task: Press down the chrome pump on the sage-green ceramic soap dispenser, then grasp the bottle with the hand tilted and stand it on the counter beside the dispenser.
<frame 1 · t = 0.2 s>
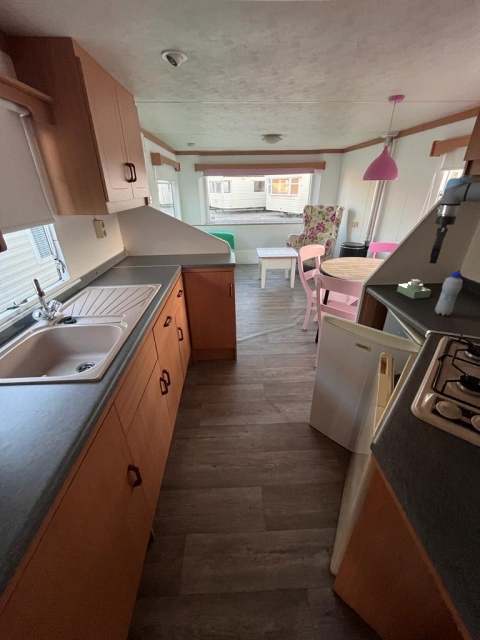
hand: (432, 260, 134), 20 cm above the counter, tool pointing down, fingers open, 13 cm apart
dispenser: (412, 294, 146), on the counter
pump: (415, 282, 143), point 7 cm above the counter, slide at 0.1 cm
bottle: (442, 314, 123), on the counter
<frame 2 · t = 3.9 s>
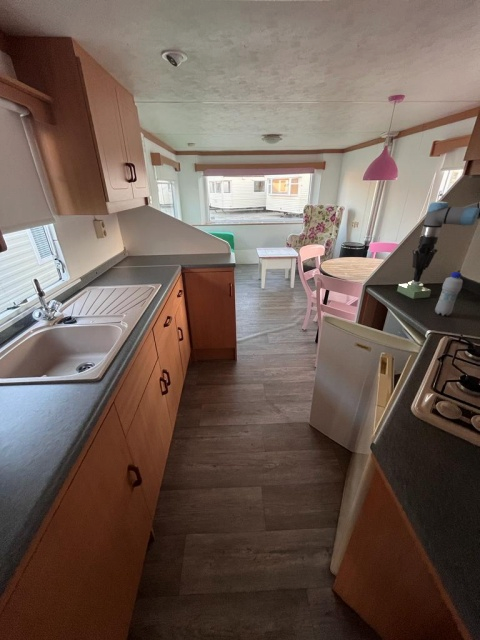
hand: (416, 280, 143), 8 cm above the counter, tool pointing down, fingers closed
pump: (415, 283, 143), point 6 cm above the counter, slide at -0.5 cm, touching gripper
everything else where it was.
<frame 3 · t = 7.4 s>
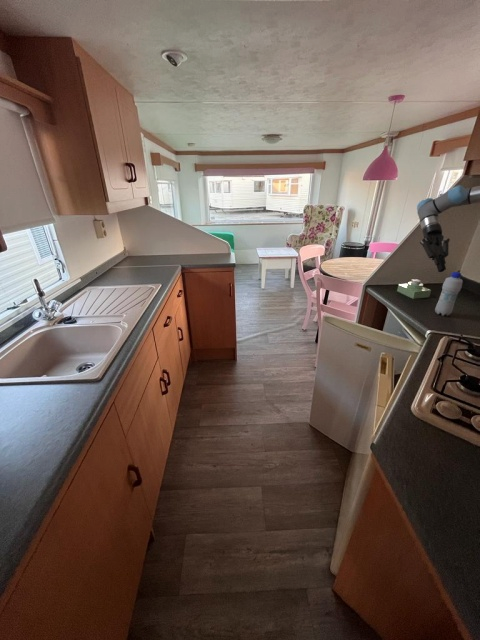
hand: (442, 270, 123), 18 cm above the counter, tool tilted 45°, fingers closed
pump: (415, 282, 143), point 7 cm above the counter, slide at 0.1 cm
everything else where it was.
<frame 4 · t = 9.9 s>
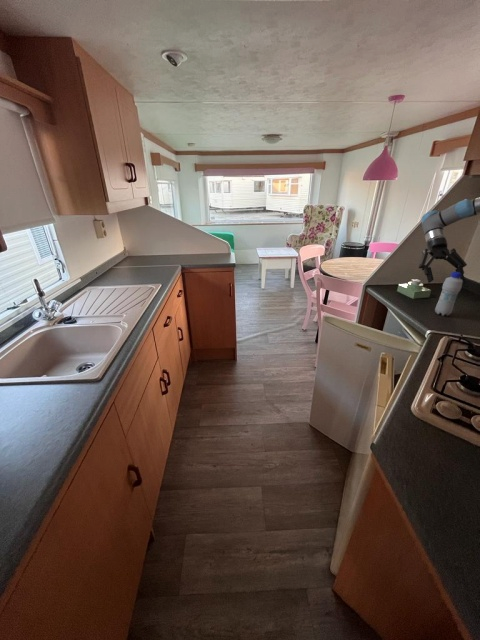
hand: (446, 281, 120), 15 cm above the counter, tool tilted 45°, fingers open, 13 cm apart
nothing on the counter moved.
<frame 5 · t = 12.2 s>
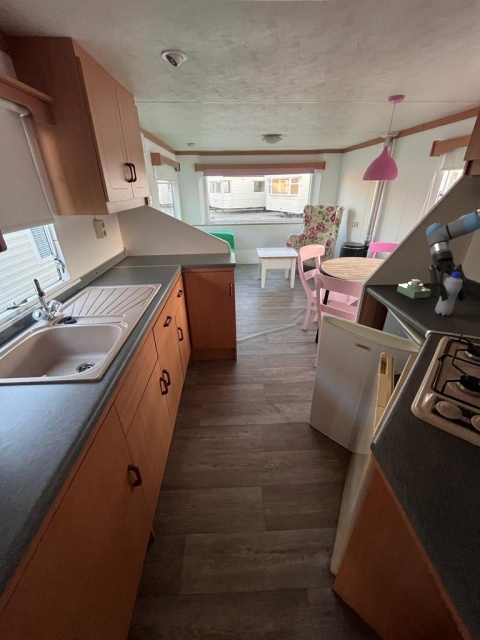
hand: (453, 299, 116), 8 cm above the counter, tool tilted 45°, fingers closed on bottle, 7 cm apart
bottle: (442, 314, 123), on the counter, touching gripper
everything else where it was.
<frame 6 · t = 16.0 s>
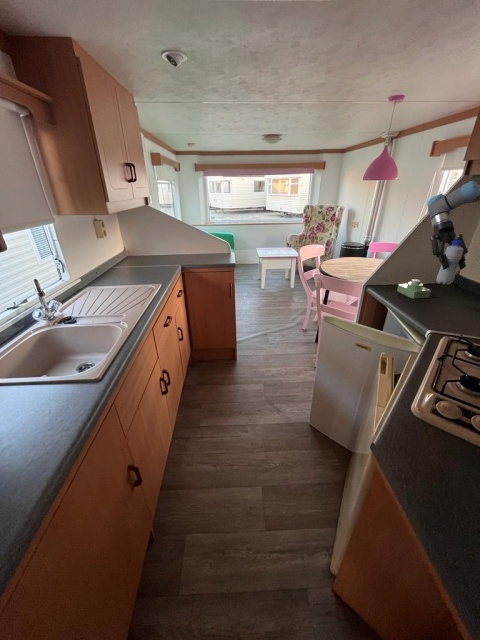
hand: (454, 268, 119), 20 cm above the counter, tool tilted 45°, fingers closed on bottle, 7 cm apart
bottle: (443, 283, 126), point 12 cm above the counter, touching gripper
everything else where it was.
when the fingers open (8 cm above the counter, at t = 19.8 s): bottle stays where it is, on the counter.
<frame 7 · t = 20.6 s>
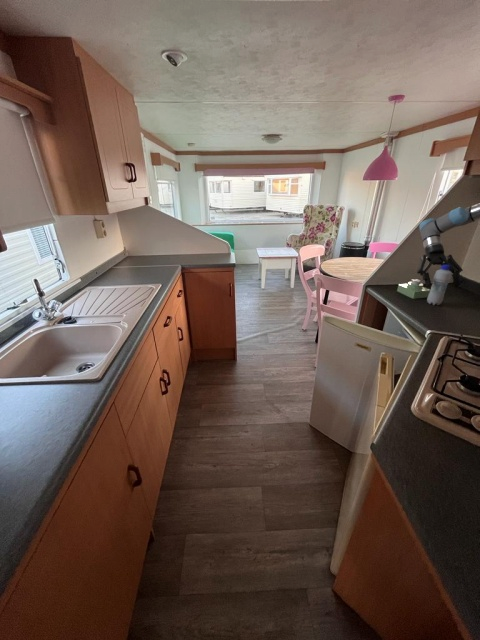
hand: (443, 285, 127), 10 cm above the counter, tool tilted 45°, fingers open, 13 cm apart
bottle: (433, 304, 134), on the counter
everything else where it was.
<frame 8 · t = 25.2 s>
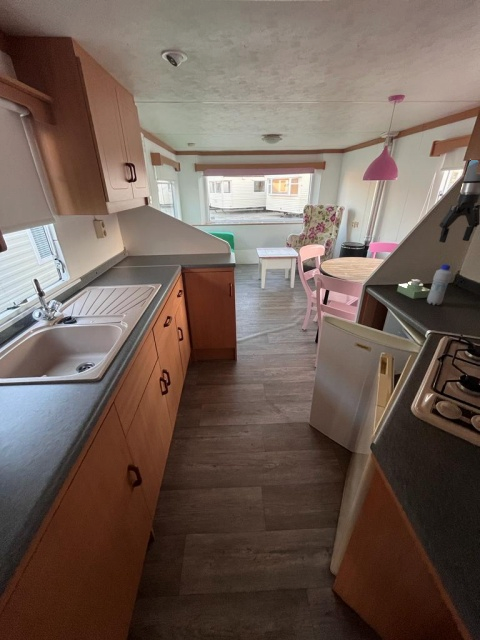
hand: (453, 241, 131), 29 cm above the counter, tool pointing down, fingers open, 13 cm apart
nothing on the counter moved.
at the end: pump pushed in 1.2 cm at the most during the clip, back to where it started at the end; pump slide at 0.1 cm; bottle inside the target area on the counter beside the dispenser (0.1 cm from its centre), on the counter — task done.
